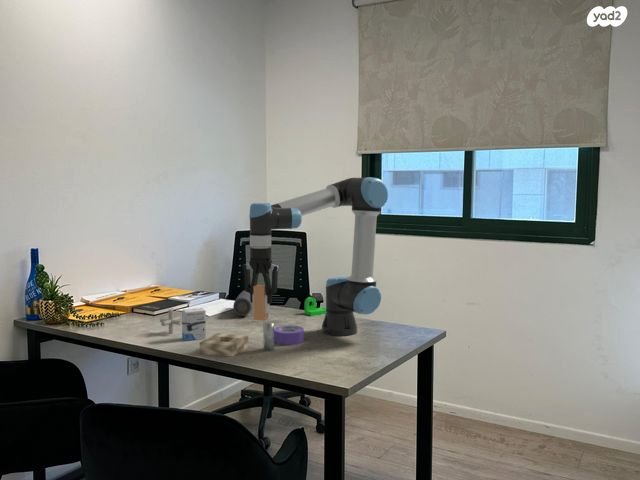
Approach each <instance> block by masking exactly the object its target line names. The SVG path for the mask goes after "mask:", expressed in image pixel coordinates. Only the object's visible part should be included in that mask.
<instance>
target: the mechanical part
mask: <svg viewBox="0 0 640 480" xmlns="http://www.w3.org/2000/svg"><path fill="white" fill-rule="evenodd" d="M310 302H311V304H310ZM303 303H304V305H303V306H304V307H303V309H304V310H303V311H304V315H306V314H307V315H306V316H309V315H310V316H309V317H316V316H315V315H317V316H323V315H322V314H324V315H325V314H326V306H324V307H317V300H316V298H314V297H311V296H308V297H307V298H305V300H304V302H303Z"/></svg>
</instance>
